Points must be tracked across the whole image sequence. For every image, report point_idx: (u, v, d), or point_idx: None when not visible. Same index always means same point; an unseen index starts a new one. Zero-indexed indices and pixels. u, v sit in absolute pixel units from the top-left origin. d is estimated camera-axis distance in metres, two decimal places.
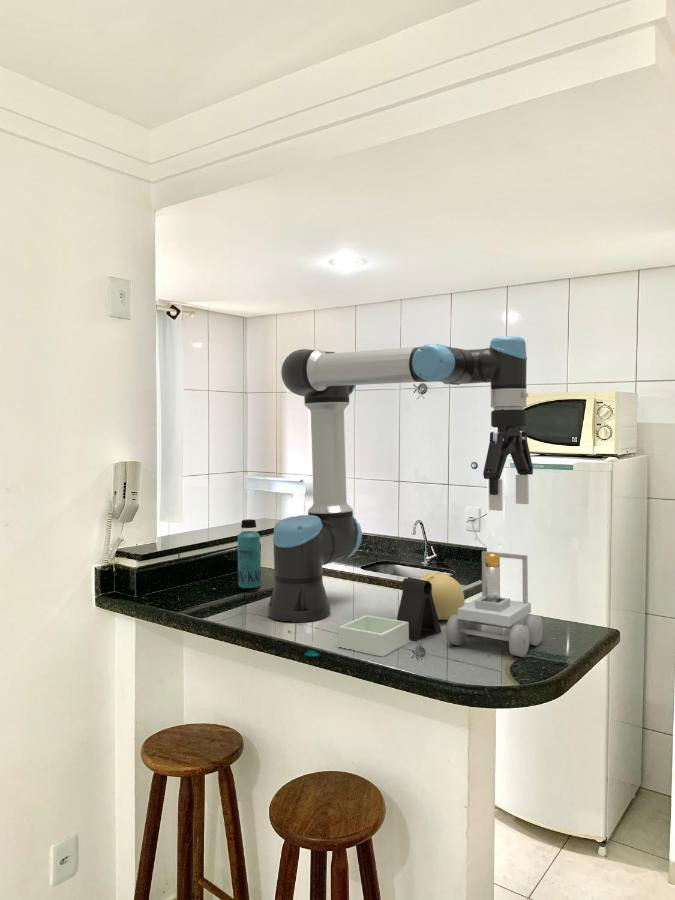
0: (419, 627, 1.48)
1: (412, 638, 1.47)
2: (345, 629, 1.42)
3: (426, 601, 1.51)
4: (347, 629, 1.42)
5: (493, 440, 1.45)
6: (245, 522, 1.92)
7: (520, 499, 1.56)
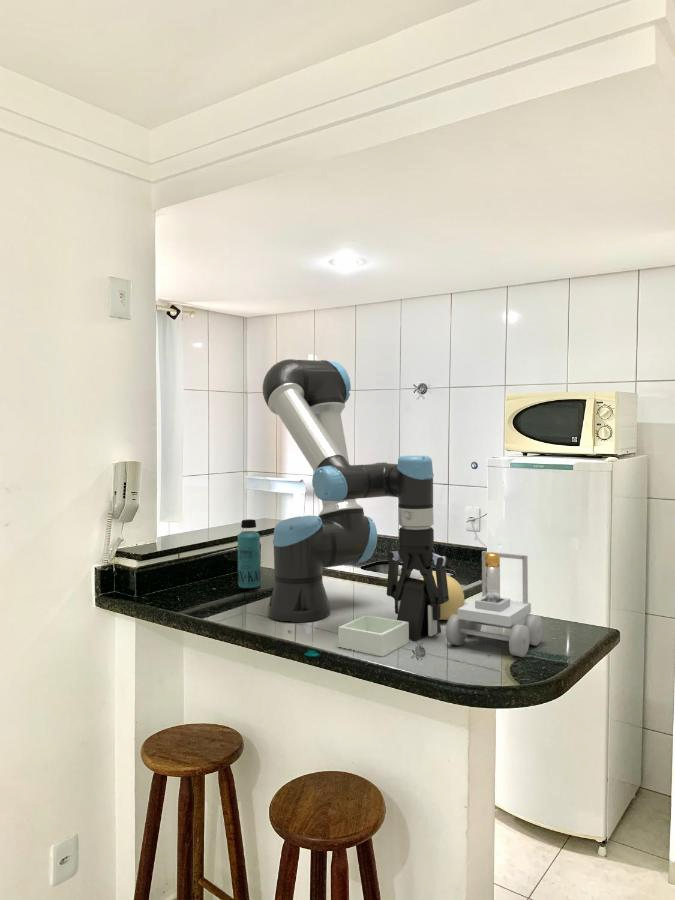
0: (420, 627, 1.48)
1: (412, 638, 1.47)
2: (345, 629, 1.42)
3: (426, 601, 1.51)
4: (347, 629, 1.42)
5: None
6: (245, 522, 1.92)
7: None
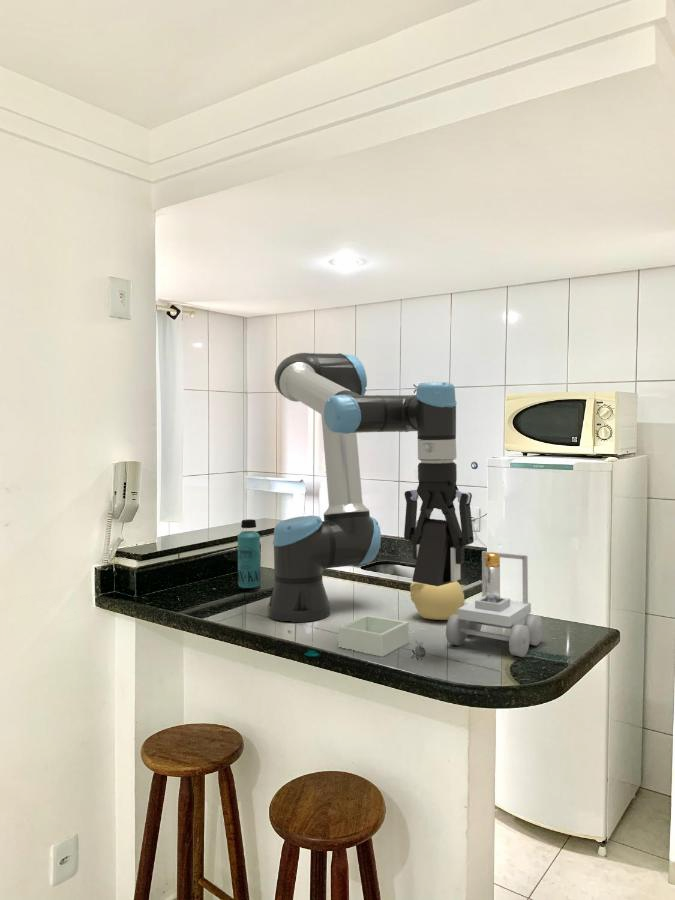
0: (442, 571, 1.33)
1: (434, 583, 1.32)
2: (345, 629, 1.42)
3: (449, 544, 1.36)
4: (347, 629, 1.42)
5: None
6: (245, 522, 1.92)
7: None
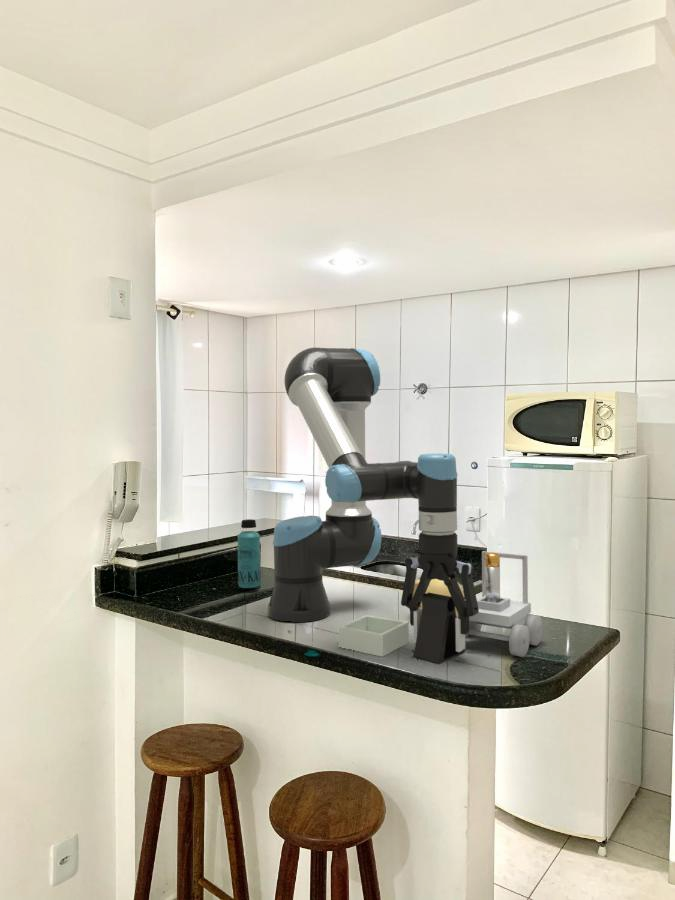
0: (443, 648, 1.34)
1: (435, 660, 1.33)
2: (345, 629, 1.42)
3: (449, 619, 1.37)
4: (347, 629, 1.42)
5: None
6: (245, 522, 1.92)
7: None
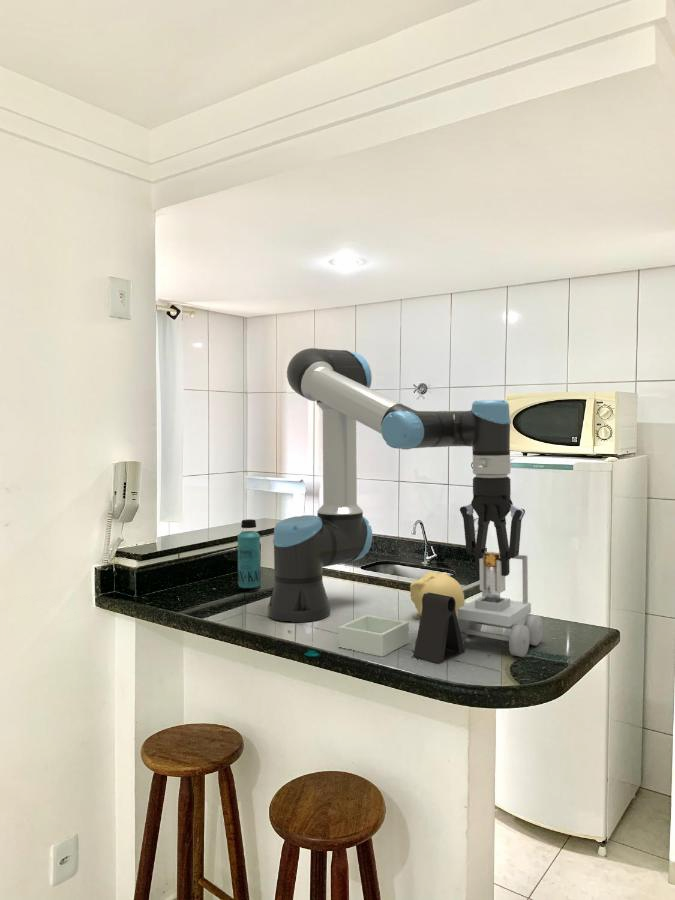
0: (443, 648, 1.34)
1: (435, 660, 1.33)
2: (345, 629, 1.42)
3: (449, 619, 1.37)
4: (347, 629, 1.42)
5: None
6: (245, 522, 1.92)
7: None
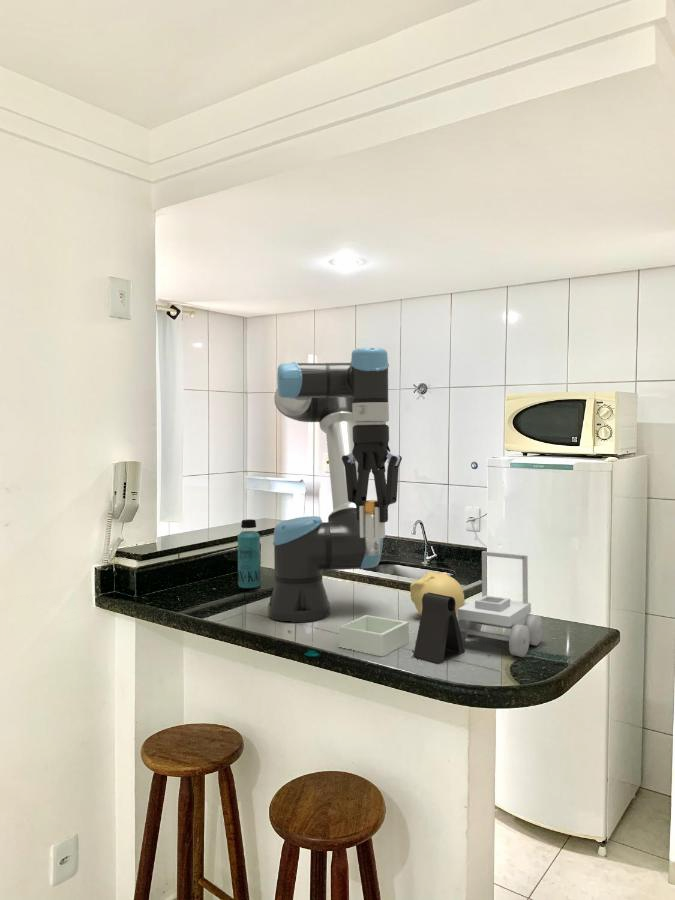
0: (443, 648, 1.34)
1: (435, 660, 1.33)
2: (345, 629, 1.42)
3: (449, 619, 1.37)
4: (347, 629, 1.42)
5: None
6: (245, 522, 1.92)
7: None
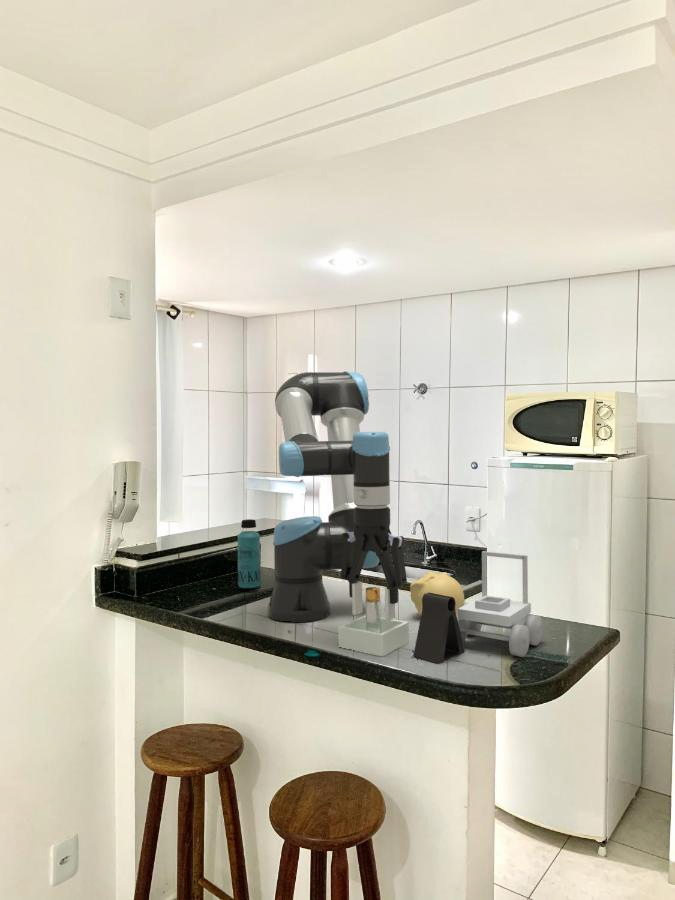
0: (443, 648, 1.34)
1: (435, 660, 1.33)
2: (345, 629, 1.42)
3: (449, 619, 1.37)
4: (347, 629, 1.42)
5: None
6: (245, 522, 1.92)
7: None
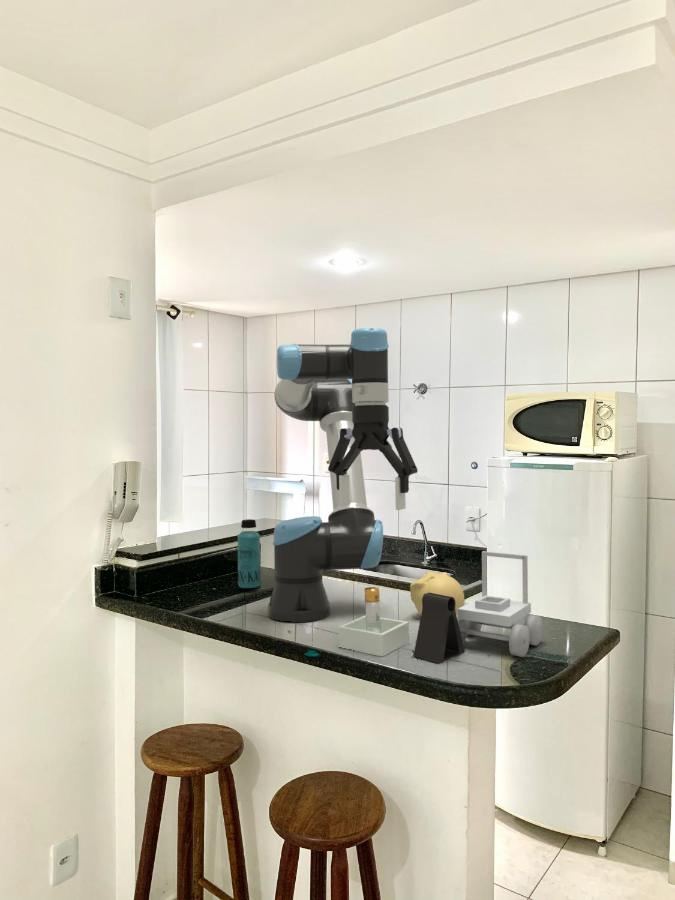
0: (443, 648, 1.34)
1: (435, 660, 1.33)
2: (345, 629, 1.42)
3: (449, 619, 1.37)
4: (347, 629, 1.42)
5: None
6: (245, 522, 1.92)
7: None
